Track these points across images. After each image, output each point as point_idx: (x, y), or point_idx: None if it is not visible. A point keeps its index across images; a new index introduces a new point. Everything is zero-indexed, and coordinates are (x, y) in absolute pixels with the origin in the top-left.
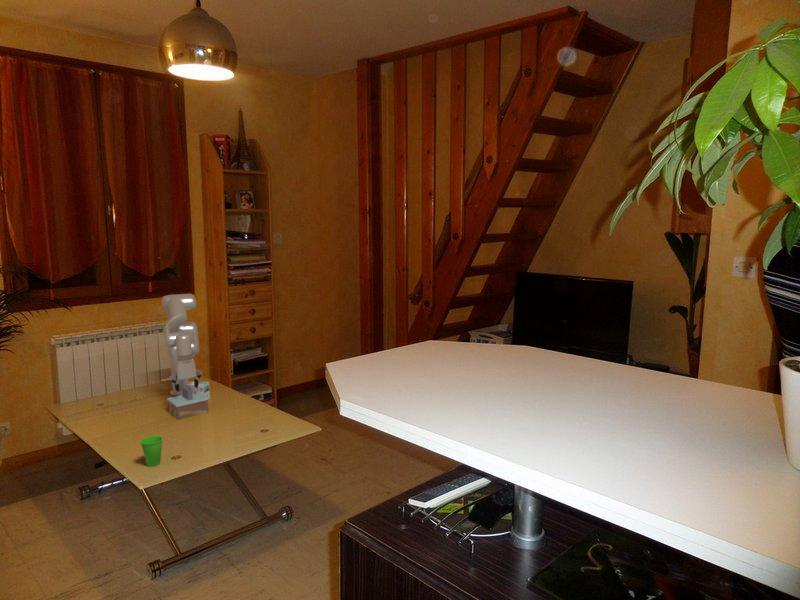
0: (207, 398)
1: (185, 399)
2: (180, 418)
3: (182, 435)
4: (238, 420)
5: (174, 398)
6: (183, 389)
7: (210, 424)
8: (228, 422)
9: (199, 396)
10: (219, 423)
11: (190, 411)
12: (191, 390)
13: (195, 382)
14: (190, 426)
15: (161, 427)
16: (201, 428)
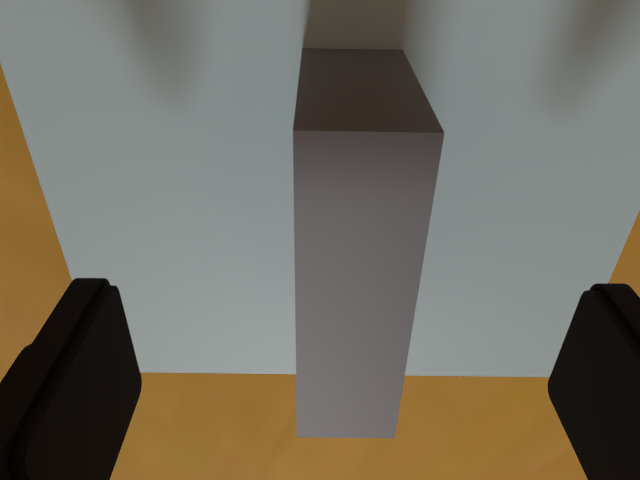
0: (544, 373)
1: (285, 236)
2: None
3: (147, 457)
4: (542, 457)
5: (118, 33)
6: (296, 213)
7: None
8: (475, 450)
9: (528, 247)
10: (422, 434)
11: None
12: (380, 435)
13: (623, 475)
14: (235, 374)
15: (7, 261)
16: (287, 437)
